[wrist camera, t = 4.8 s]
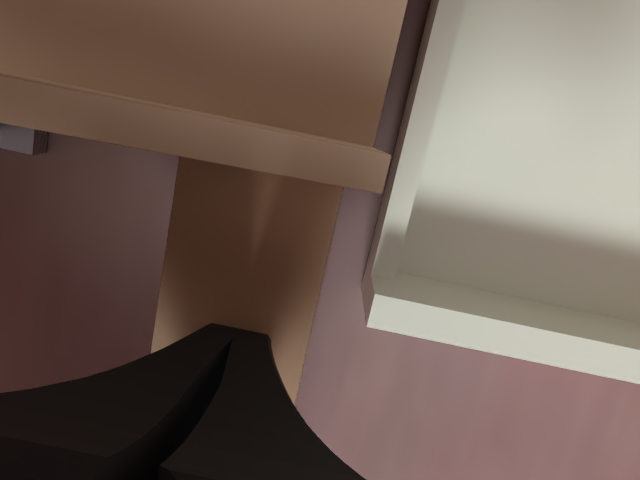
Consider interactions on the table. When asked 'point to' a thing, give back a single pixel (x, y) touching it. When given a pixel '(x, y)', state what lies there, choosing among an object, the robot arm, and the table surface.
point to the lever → (221, 135)
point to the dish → (518, 186)
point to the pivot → (23, 139)
